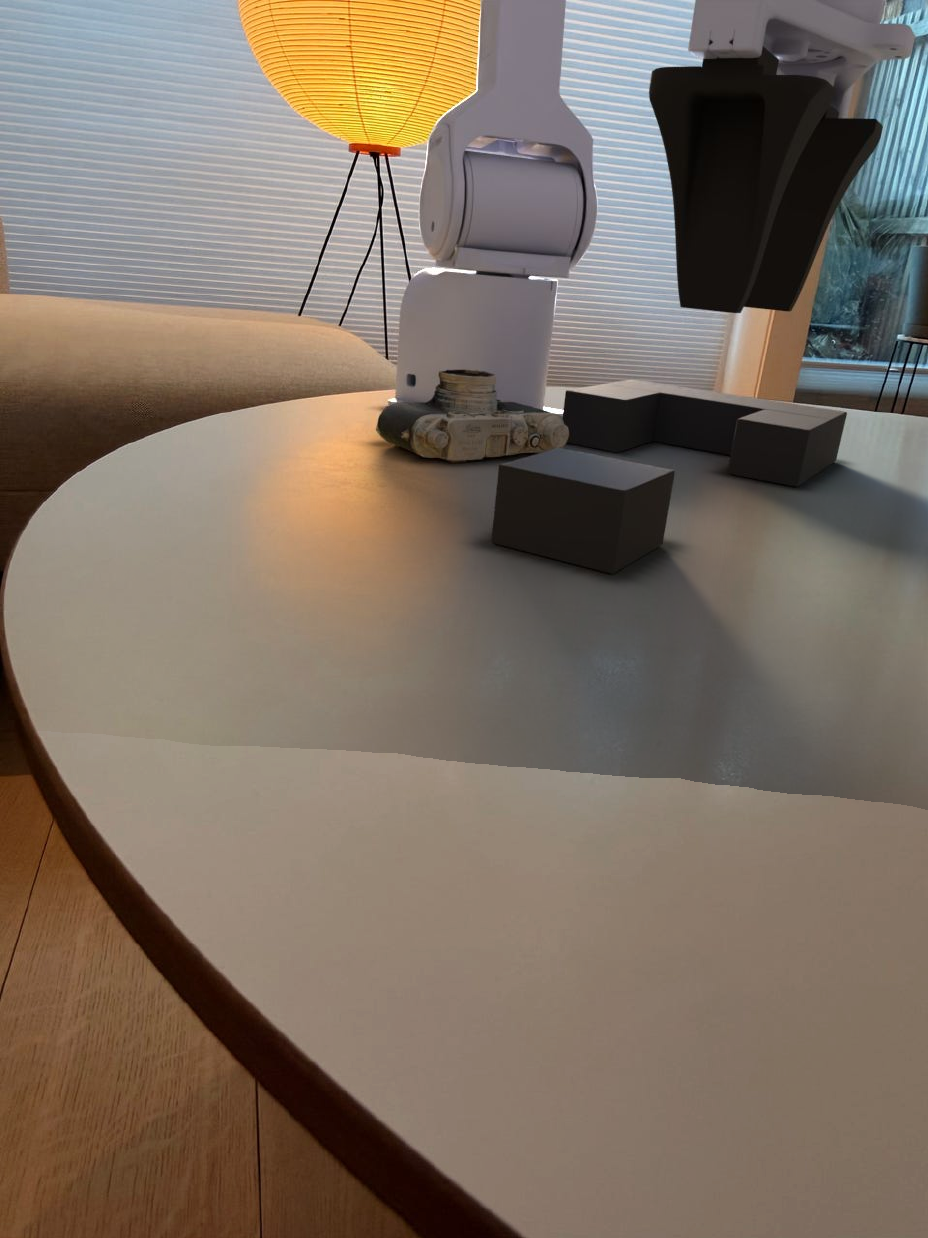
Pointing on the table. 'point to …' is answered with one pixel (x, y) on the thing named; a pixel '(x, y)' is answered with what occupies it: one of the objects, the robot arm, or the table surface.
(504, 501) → the pad piece
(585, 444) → the base pad
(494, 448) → the camera
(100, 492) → the table surface
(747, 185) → the robot arm
